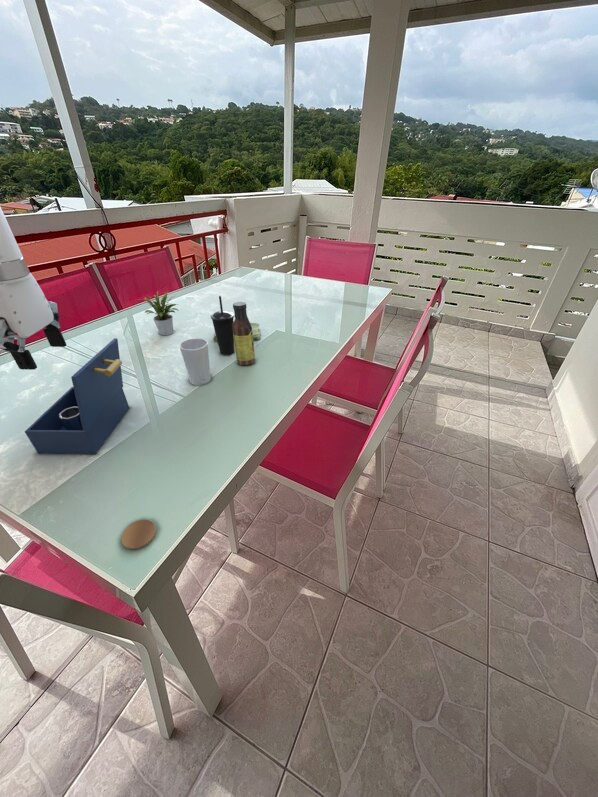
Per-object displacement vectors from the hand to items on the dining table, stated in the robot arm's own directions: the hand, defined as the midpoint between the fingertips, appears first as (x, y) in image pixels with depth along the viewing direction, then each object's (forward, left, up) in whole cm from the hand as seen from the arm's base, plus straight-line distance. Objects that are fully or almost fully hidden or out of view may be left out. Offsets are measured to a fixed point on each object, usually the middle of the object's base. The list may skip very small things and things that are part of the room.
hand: (44, 356), depth 68 cm
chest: (+1, +2, -21) cm, 21 cm away
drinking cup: (+48, +20, -22) cm, 57 cm away
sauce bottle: (+50, +10, -22) cm, 56 cm away
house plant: (+35, +49, -22) cm, 64 cm away
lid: (+7, -3, -8) cm, 11 cm away
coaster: (+4, -36, -21) cm, 42 cm away
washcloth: (+58, +31, -22) cm, 70 cm away
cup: (+33, +8, -22) cm, 41 cm away
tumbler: (0, 0, -21) cm, 21 cm away
